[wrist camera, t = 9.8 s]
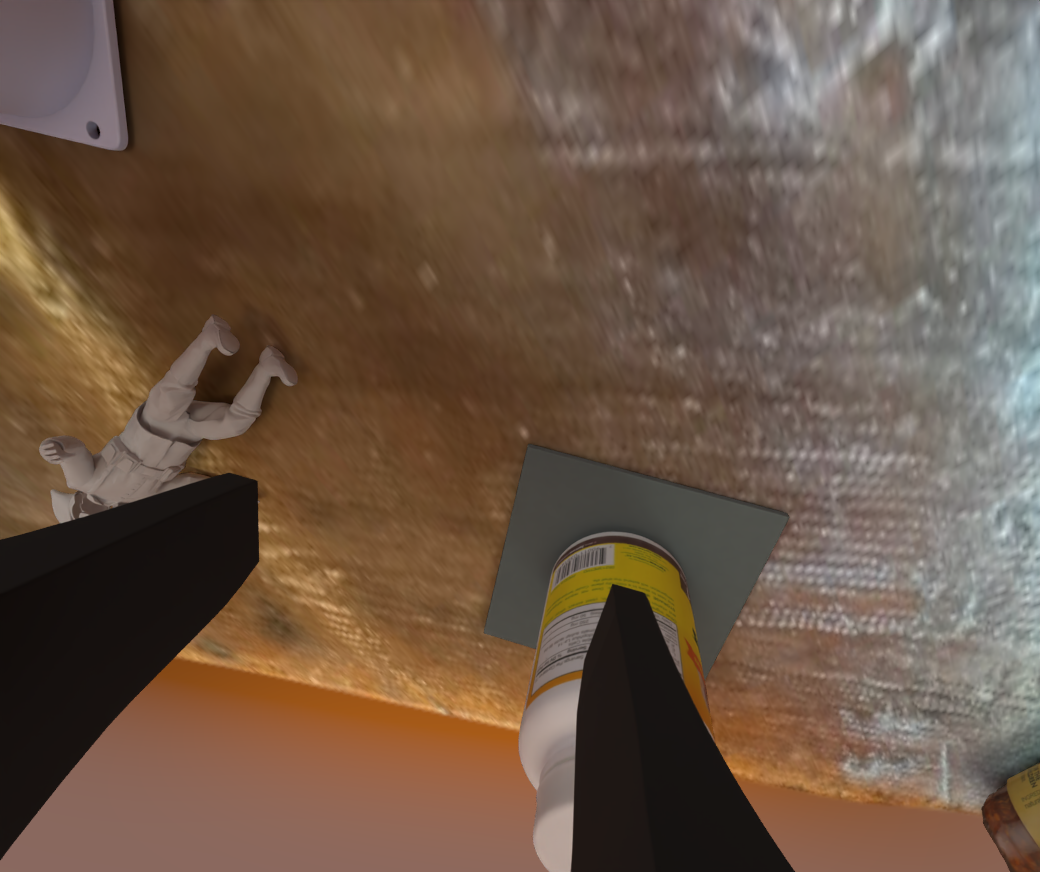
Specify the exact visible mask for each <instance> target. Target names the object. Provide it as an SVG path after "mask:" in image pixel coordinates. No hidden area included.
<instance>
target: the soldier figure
mask: <svg viewBox="0 0 1040 872" xmlns="http://www.w3.org/2000/svg"><path fill="white" fill-rule="evenodd" d="M230 330H231V327H230V326H229V324H228V323H227V322H226V321H225V320H223V319H222V318H220V317H218V316H216V315H213V314H212V315H211V317H210V319H209V320H207V321H206V323H205V326H204V327H203V329H202V332H201V333H200V335H199V336H198V337H197V339H195V340H194V341H193V342H192V343H191V345H190V346H189V347H188V348H187V349H186V350H185V351H184V353H183V354H182V355H181V356H180V357H179V358H178V359H177V360H176V361H175V362H174V363H173V364H172V365H171V369H170V370H169V371H168V372H167V373H166V375H165V377H164V378H163V379H161V381H159V382H158V383H157V384H156V385H155V386H154V387H153V388H152V389H151V391H150V393H149V397H148V399H147V401H145V402H144V403H143V404H142V405H140V406H139V407H138V408H137V409H136V410H135V412H134V413H133V415H132V417H131V419H130V420H129V422H128V423H127V425H126V428H125V430H124V432H122V433H121V434H120V436H115V437H114V438H112V439H111V440H110V441H109V442H108V444H107V445H106V446H105V447H104V448H103V450H102V451H101V452H100V453H97V454H95V455H93V456H92V454H91V452H90V451H89V450H88V449H87V448H86V447H85V444H84V443H83V442H82V441H80V440H79V439H77V438H75V437H72V436H59V437H51V438H47V439H45V440H44V441H43V442H42V443H41V445H40V448H39V451H40V454H41V455H42V457H43V458H44V459H45V460H47V461H48V462H49V463H53V464H60V465H61V467H62V469H63V471H64V474H65V477H66V480H67V486H68V487H69V488H72V489H75V490H78V491H77V492H76V493H75V494H67V493H63V492H60V491H57V490H51V496H52V505H53V511H54V514H55V516H56V518H57V519H58V521H59V522H60V523H64V522H67V521H71V520H74V519H78V518H81V517H85V516H88V515H92V514H95V513H99V512H102V511H105V510H108V509H110V507H111V506H113V508H115V507H118V506H121V505H124V504H127V503H130V502H134V501H137V500H140V499H143V498H146V497H149V496H153V495H156V494H159V493H162V492H165V491H168V490H171V489H175V488H178V487H181V486H184V485H187V484H191V483H194V482H197V481H200V480H204V479H207V478H211V477H208V476H205V475H202V474H197V473H193V472H189V473H181V474H178V473H179V472H180V471H181V470H182V469H183V468H184V467H185V464H186V459H187V458H188V457H189V455H190V454H191V452H192V451H193V450H194V449H195V448H196V447H197V446H198V445H199V444H200V443H201V441H202V439H203V438H206V439H210V440H218V439H225V438H229V437H234V436H238V435H241V434H243V433H244V432H245V431H246V430H248V429H249V427H250V426H251V424H252V423H253V422H254V421H255V419H256V418H257V417H259V416H260V415H261V412H262V410H261V408H260V407H261V403H262V399H263V396H264V394H265V391H266V389H267V387H268V385H269V383H270V379H271V376H279V377H280V379H281V381H282V382H283V383H284V384H285V385H287V386H293V385H296V384H297V381H298V377H297V373H296V371H295V369H294V368H293V367H292V366H290V365H289V364H288V363H286V362H285V361H284V358H285V357H284V356H283V355H282V353H281V352H280V351H279V350H277V349H276V348H274V347H272V346H269V345H268V346H267V347H266V348H265V350H264V351H262V353H261V356H260V358H259V361H260V363H259V364H258V365H257V366H256V367H255V368H254V370H253V372H252V374H251V375H250V377H249V378H248V380H247V381H246V383H245V385H244V386H243V387H242V388H241V390H240V391H239V392H238V394H237V395H236V397H235V398H234V400H233V404H232V405H230V404H227V403H221V402H220V403H216V402H205V401H197V400H193V399H194V397H195V394H196V390H195V386H196V385H197V384H198V377H199V376H200V373H201V371H202V369H203V367H204V365H205V363H206V360H207V357H208V355H209V354H210V352H211V350H212V349H214V348H215V347H217V348H218V350H219V351H220V352H221V353H223V354H224V355H228V356H230V355H233V354H235V353H236V352H237V351H238V350H239V347H240V342H239V341H238V339H237V338H236V337H235V336H234V335H233V334H232V333H231V332H230ZM83 492H84V493H83ZM259 502H260V501H258V503H259Z"/></svg>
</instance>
